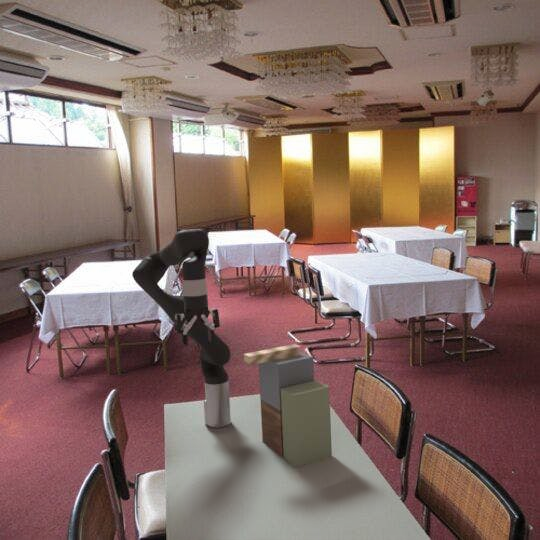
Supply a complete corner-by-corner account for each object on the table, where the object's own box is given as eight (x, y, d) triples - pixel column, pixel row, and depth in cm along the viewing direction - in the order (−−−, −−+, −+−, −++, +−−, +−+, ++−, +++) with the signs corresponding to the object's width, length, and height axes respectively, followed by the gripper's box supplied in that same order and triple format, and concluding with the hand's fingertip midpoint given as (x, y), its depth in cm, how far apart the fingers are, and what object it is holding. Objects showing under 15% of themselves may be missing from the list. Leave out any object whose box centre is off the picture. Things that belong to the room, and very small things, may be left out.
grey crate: (280, 410, 190) (278, 364, 188) (260, 398, 202) (258, 355, 200) (315, 401, 197) (313, 357, 195) (294, 390, 209) (292, 348, 207)
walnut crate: (282, 456, 192) (280, 410, 190) (262, 441, 204) (260, 398, 202) (316, 445, 199) (315, 401, 197) (295, 432, 211) (294, 390, 209)
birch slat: (249, 365, 189) (249, 356, 188) (244, 362, 192) (243, 354, 192) (300, 354, 198) (300, 346, 198) (294, 352, 202) (294, 344, 201)
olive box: (296, 466, 184) (293, 395, 181) (283, 457, 191) (280, 388, 188) (331, 455, 191) (329, 386, 188) (318, 446, 198) (315, 380, 195)
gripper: (177, 297, 172) (181, 349, 174) (220, 291, 178) (224, 342, 181) (169, 294, 178) (173, 344, 180) (211, 288, 185) (214, 337, 187)
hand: (198, 343), depth 180 cm, fingers open, 8 cm apart
